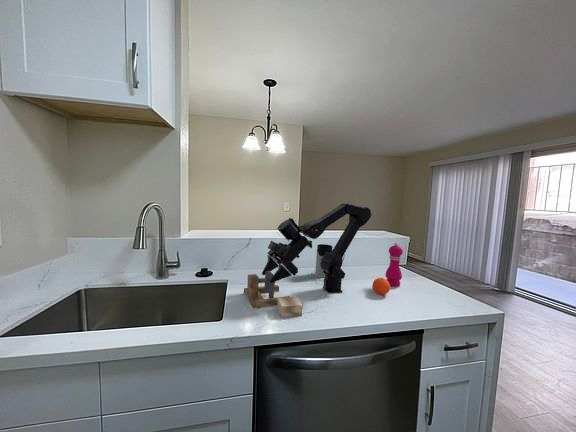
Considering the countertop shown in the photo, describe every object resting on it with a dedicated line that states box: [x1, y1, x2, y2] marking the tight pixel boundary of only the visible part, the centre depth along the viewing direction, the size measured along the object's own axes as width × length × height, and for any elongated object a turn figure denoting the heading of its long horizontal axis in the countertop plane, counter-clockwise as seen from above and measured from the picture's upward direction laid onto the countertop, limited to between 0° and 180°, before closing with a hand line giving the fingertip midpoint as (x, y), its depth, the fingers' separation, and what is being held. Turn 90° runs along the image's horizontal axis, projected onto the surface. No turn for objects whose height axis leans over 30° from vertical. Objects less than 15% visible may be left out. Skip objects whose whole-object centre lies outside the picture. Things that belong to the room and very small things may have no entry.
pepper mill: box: [384, 241, 404, 288], centre depth 119 cm, size 7×7×20 cm
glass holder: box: [313, 243, 346, 279], centre depth 128 cm, size 9×14×15 cm, turn 79°
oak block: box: [276, 296, 304, 318], centre depth 87 cm, size 7×7×4 cm
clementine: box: [371, 277, 391, 296], centre depth 107 cm, size 8×7×7 cm
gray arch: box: [263, 271, 276, 298], centre depth 97 cm, size 2×6×8 cm, turn 23°
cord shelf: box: [243, 273, 291, 309], centre depth 97 cm, size 14×14×9 cm
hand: (266, 278), depth 96 cm, fingers open, 9 cm apart
